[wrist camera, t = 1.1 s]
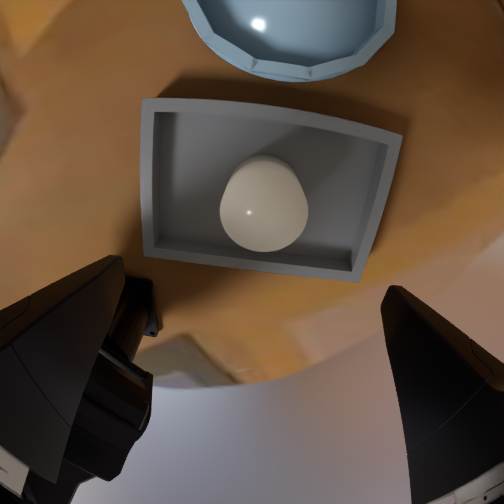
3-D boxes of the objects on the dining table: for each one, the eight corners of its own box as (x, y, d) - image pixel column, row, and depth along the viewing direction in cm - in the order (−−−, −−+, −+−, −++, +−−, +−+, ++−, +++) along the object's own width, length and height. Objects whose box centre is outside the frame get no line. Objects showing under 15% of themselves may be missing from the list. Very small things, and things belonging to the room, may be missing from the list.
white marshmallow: (292, 224, 19) (298, 256, 16) (225, 216, 19) (216, 246, 15) (304, 159, 17) (316, 178, 13) (232, 149, 17) (223, 165, 13)
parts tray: (351, 265, 21) (358, 282, 20) (153, 240, 21) (143, 256, 19) (388, 130, 16) (402, 135, 14) (155, 97, 16) (142, 98, 14)
